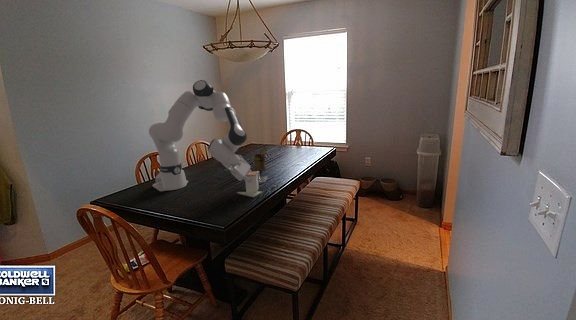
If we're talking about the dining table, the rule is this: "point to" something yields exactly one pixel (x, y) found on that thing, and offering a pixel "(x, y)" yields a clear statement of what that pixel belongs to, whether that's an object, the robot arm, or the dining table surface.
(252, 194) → the pad
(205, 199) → the dining table surface
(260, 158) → the wooden mug
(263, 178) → the square base plate
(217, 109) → the robot arm
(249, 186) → the pink tall block
